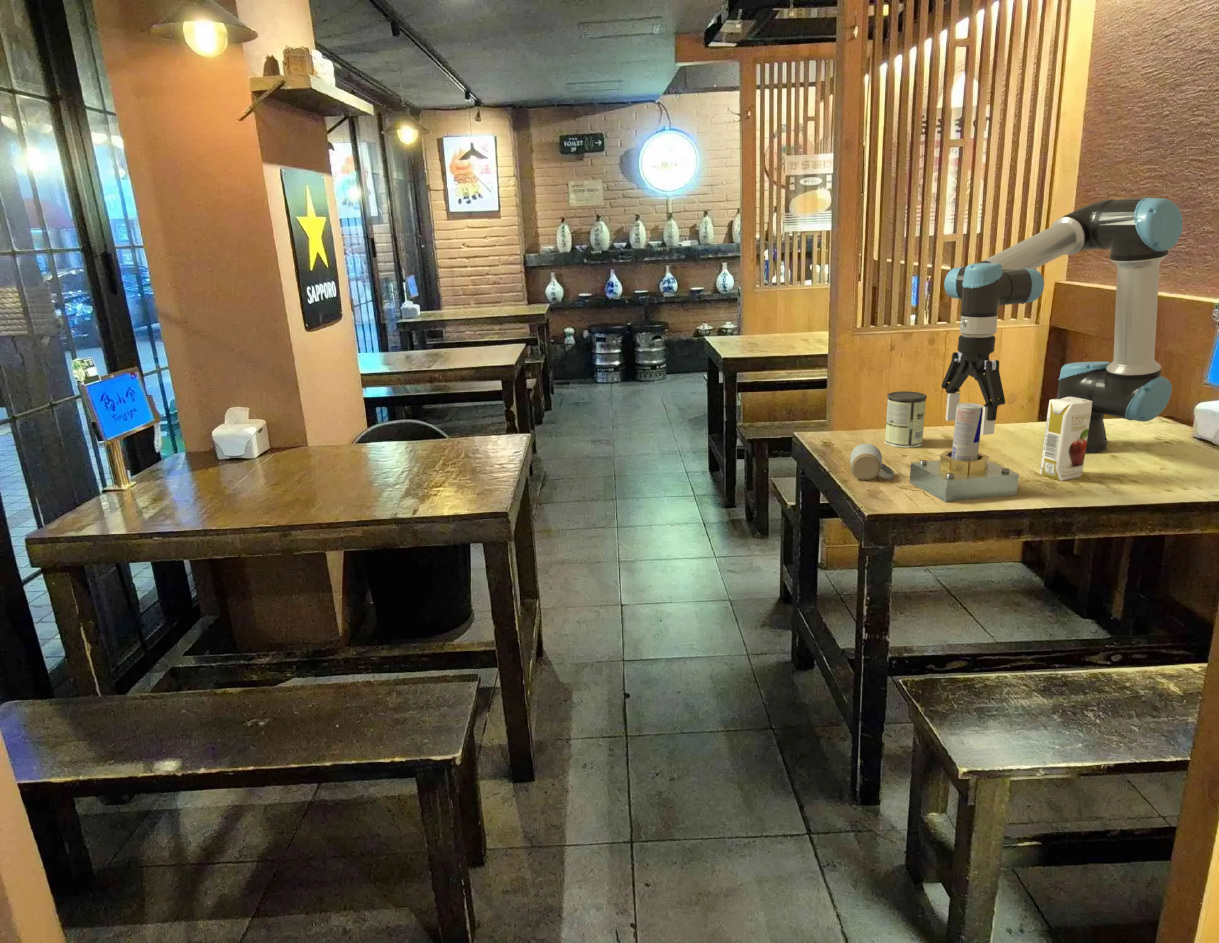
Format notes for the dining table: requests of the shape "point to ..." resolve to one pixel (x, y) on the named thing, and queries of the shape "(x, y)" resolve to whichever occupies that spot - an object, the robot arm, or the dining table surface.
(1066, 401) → the juice carton
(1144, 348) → the robot arm
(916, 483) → the metal socket fixture
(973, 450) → the beverage can
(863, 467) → the ceramic mug
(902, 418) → the coffee can
